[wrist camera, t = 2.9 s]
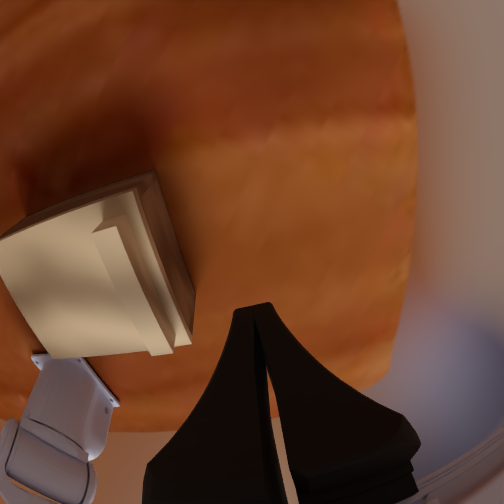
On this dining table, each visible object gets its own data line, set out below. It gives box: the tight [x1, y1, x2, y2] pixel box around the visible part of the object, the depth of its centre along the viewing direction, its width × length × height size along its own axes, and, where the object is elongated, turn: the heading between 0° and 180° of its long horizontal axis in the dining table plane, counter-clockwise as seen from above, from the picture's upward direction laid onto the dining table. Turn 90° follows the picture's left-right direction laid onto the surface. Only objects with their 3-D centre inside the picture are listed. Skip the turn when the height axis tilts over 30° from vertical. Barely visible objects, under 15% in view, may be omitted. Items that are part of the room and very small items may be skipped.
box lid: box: [0, 188, 192, 359], centre depth 15 cm, size 10×12×2 cm
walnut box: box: [0, 169, 196, 335], centre depth 18 cm, size 10×12×5 cm
